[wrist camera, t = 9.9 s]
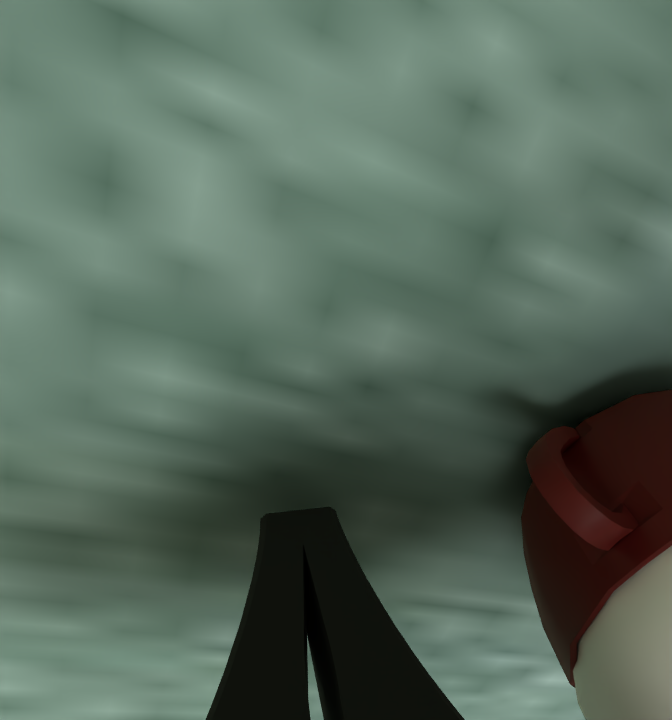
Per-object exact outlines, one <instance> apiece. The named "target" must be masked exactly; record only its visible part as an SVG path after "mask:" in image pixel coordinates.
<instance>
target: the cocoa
mask: <svg viewBox="0 0 672 720" xmlns="http://www.w3.org/2000/svg"><path fill="white" fill-rule="evenodd" d="M526 462H527V466H528V470H529V473H530V476H531V478H532V480H533V482H532V484H531V486H530V488H529V489H528V491H527V493H526V498H525V502H524V507H523V511H522V515H521V523H522V535H523V548H524V556H525V561H526V565H527V570H528V574H529V579H530V584H531V588H532V592H533V595H534V598H535V602H536V605H537V608H538V612H539V615H540V618H541V622H542V625H543V628H544V631H545V633H546V635H547V637H548V639H549V641H550V643H551V645H552V648H553V650H554V652H555V654H556V656H557V658H558V660H559V662H560V665H561V667H562V669H563V671H564V673H565V675H566V677H567V679H568V681H569V683H570V685H572V686H573V687H575V688H576V694H577V700H578V704H579V706H580V708H581V711H582V713H583V715H584V717H585V719H586V720H672V390H666V391H659V392H652V393H645V394H639V395H634V396H632V397H630V398H628V399H626V400H624V401H622V402H620V403H618V404H616V405H614V406H612V407H610V408H608V409H606V410H604V411H602V412H600V413H598V414H596V415H594V416H592V417H590V418H588V419H586V420H584V421H583V422H582V423H580V424H579V425H578V426H577V427H576V428H575V429H574V428H571V427H566V426H561V427H558V428H553V429H551V430H550V431H548V432H547V433H546V434H545V435H543V436H542V437H541V438H540V439H539V440H538V441H537V442H536V443H535V444H534V445H533V447H532V448H531V449H530V450H529V452H528V455H527V458H526Z"/></svg>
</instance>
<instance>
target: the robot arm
mask: <svg viewBox="0 0 672 720" xmlns="http://www.w3.org/2000/svg"><path fill="white" fill-rule="evenodd" d="M307 636H308V641H309V646H310V651H311V656H312V661H313V666H314V672H315V677H316V682H317V687H318V692H319V697H320V702H321V707H322V712H323V717H324V720H464V718H463V717H462V716H461V715H460V713H459V712H458V711H457V710H456V708H455V707H454V706H453V705H452V703H451V702H450V701H449V700H448V699H447V697H446V696H445V695H444V693H443V692H442V691H441V689H440V688H439V687H438V685H437V684H436V683H435V682H434V680H433V679H432V678H431V676H430V675H429V674H428V672H427V671H426V669H425V668H424V667H423V665H422V664H421V663H420V661H419V660H418V658H417V657H416V656H415V654H414V653H413V651H412V650H411V648H410V647H409V645H408V644H407V642H406V641H405V639H404V638H403V636H402V635H401V633H400V632H399V630H398V629H397V628H396V626H395V624H394V623H393V621H392V620H391V618H390V617H389V615H388V613H387V612H386V610H385V609H384V607H383V605H382V604H381V602H380V600H379V598H378V597H377V595H376V593H375V592H374V590H373V588H372V587H371V585H370V583H369V581H368V580H367V578H366V576H365V574H364V572H363V571H362V569H361V567H360V565H359V563H358V561H357V559H356V557H355V555H354V553H353V551H352V549H351V547H350V545H349V543H348V541H347V539H346V536H345V534H344V532H343V530H342V527H341V525H340V522H339V519H338V517H337V514H336V511H335V510H334V509H332V508H331V507H324V508H315V509H306V510H297V511H288V512H279V513H269V514H265V515H264V516H263V517H262V518H261V521H260V537H259V545H258V552H257V558H256V563H255V567H254V572H253V577H252V581H251V585H250V589H249V593H248V596H247V600H246V604H245V608H244V611H243V615H242V619H241V622H240V625H239V629H238V632H237V635H236V638H235V641H234V644H233V647H232V650H231V653H230V656H229V659H228V662H227V665H226V668H225V671H224V673H223V676H222V679H221V682H220V684H219V687H218V690H217V692H216V695H215V697H214V700H213V703H212V705H211V708H210V710H209V713H208V715H207V717H206V720H310V711H309V702H308V663H307Z"/></svg>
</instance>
